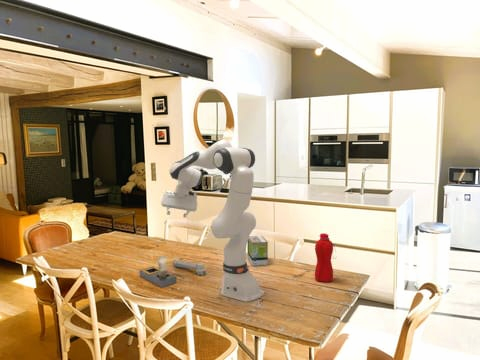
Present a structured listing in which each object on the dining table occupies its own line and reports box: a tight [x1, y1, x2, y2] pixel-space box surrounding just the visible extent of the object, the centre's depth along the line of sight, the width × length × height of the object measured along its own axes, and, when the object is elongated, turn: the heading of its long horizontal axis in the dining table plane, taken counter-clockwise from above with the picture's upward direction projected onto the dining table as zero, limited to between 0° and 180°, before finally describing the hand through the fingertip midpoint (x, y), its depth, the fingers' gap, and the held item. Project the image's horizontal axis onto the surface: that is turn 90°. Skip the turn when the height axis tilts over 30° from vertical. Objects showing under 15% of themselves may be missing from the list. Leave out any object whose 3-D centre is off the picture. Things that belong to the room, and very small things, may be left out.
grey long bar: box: [172, 259, 207, 276], centre depth 212 cm, size 5×7×25 cm
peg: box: [157, 255, 167, 279], centre depth 195 cm, size 4×4×14 cm
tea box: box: [247, 235, 269, 267], centre depth 224 cm, size 15×10×15 cm, turn 9°
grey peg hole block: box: [138, 265, 177, 288], centre depth 199 cm, size 23×9×4 cm, turn 44°
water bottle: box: [314, 232, 337, 283], centre depth 193 cm, size 9×11×25 cm
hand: (176, 215), depth 203 cm, fingers open, 8 cm apart
